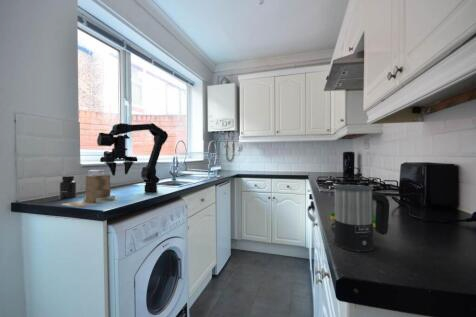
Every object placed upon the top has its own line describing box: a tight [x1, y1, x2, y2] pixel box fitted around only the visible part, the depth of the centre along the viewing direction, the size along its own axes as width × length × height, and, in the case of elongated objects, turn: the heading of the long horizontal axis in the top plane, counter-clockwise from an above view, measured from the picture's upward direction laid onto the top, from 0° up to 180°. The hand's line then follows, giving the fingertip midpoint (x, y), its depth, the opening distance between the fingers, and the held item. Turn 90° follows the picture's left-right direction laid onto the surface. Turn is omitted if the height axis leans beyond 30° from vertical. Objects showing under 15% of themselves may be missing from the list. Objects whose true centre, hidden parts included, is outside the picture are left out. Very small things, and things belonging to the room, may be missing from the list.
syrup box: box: [88, 169, 105, 176], centre depth 126 cm, size 6×6×14 cm
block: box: [85, 174, 111, 203], centre depth 106 cm, size 8×6×12 cm
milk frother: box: [330, 184, 390, 252], centre depth 60 cm, size 14×16×15 cm
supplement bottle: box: [58, 175, 77, 200], centre depth 114 cm, size 7×7×12 cm
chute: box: [60, 195, 122, 208], centre depth 103 cm, size 19×14×3 cm
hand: (120, 175), depth 121 cm, fingers open, 7 cm apart
